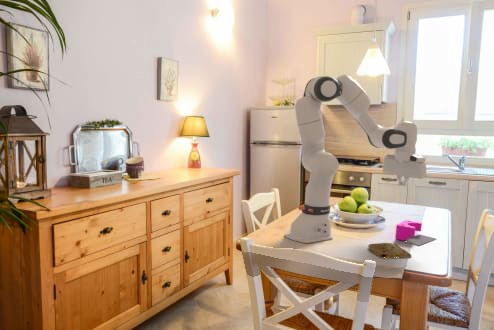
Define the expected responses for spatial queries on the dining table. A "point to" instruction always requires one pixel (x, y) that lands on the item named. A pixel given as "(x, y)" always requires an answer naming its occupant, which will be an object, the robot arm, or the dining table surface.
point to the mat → (419, 240)
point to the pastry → (388, 250)
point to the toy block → (407, 229)
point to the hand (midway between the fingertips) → (402, 185)
